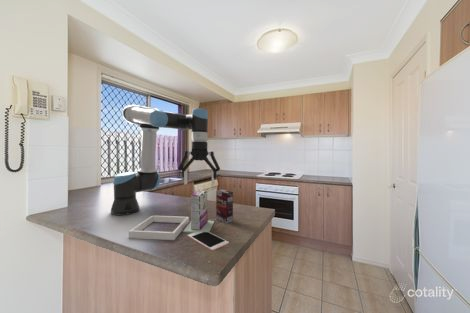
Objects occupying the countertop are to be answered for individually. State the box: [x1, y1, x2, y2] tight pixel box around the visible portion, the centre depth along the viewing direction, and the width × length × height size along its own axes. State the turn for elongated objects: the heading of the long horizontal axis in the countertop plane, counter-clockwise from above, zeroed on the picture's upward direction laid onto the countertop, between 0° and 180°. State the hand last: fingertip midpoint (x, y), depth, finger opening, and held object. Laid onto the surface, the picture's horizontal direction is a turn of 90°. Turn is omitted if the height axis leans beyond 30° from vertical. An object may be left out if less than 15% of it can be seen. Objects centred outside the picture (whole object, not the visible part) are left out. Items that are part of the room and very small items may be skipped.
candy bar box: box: [190, 189, 209, 230], centre depth 97 cm, size 11×5×16 cm, turn 170°
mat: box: [182, 220, 215, 234], centre depth 97 cm, size 12×14×1 cm
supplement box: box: [215, 189, 234, 224], centre depth 106 cm, size 9×5×16 cm, turn 47°
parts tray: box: [128, 215, 190, 241], centre depth 94 cm, size 20×20×3 cm
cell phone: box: [187, 232, 230, 252], centre depth 84 cm, size 9×18×1 cm, turn 45°
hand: (199, 184), depth 97 cm, fingers open, 13 cm apart
